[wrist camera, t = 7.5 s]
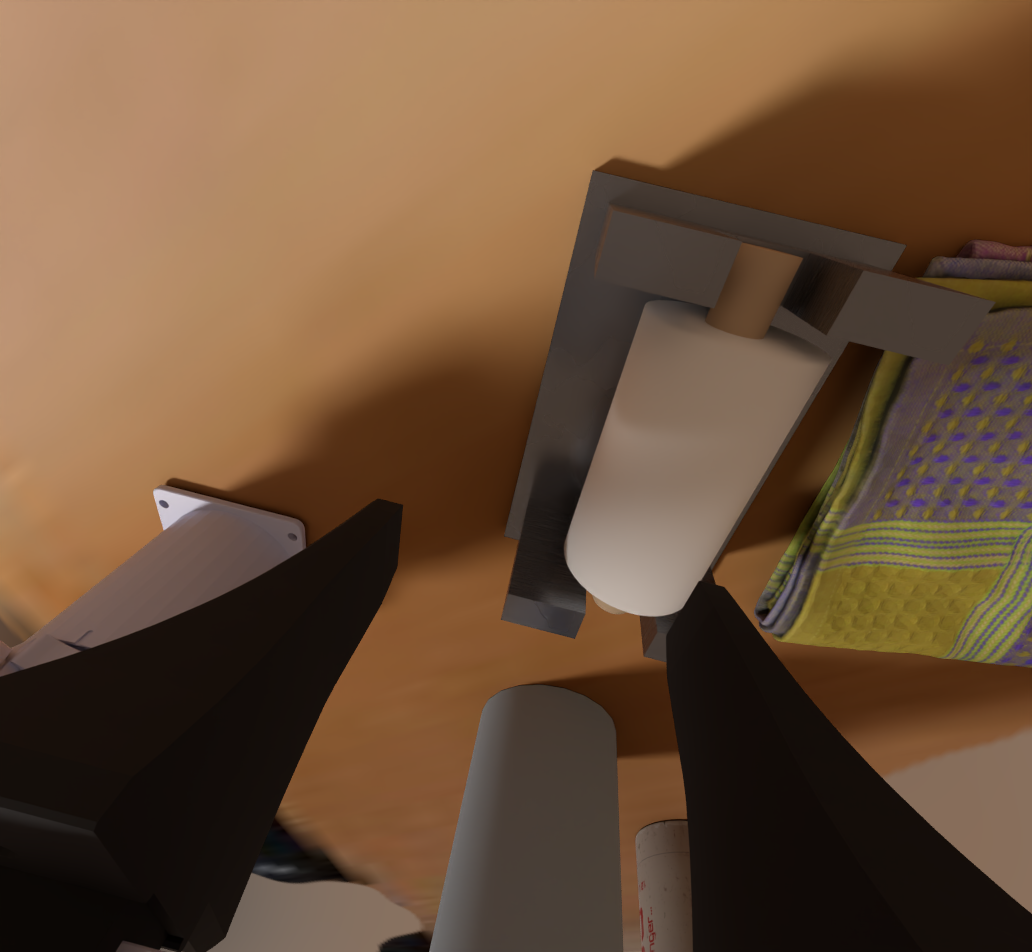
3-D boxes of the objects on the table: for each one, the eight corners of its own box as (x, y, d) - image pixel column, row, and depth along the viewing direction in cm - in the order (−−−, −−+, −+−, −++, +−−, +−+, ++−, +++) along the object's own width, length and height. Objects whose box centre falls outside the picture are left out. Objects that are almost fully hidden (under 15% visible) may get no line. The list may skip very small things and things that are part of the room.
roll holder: (699, 577, 22) (728, 691, 17) (505, 528, 23) (479, 627, 18) (896, 242, 14) (1056, 274, 9) (592, 170, 15) (590, 163, 9)
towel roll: (658, 565, 21) (687, 662, 17) (550, 545, 21) (552, 640, 17) (814, 256, 14) (930, 293, 10) (654, 219, 14) (704, 240, 9)
